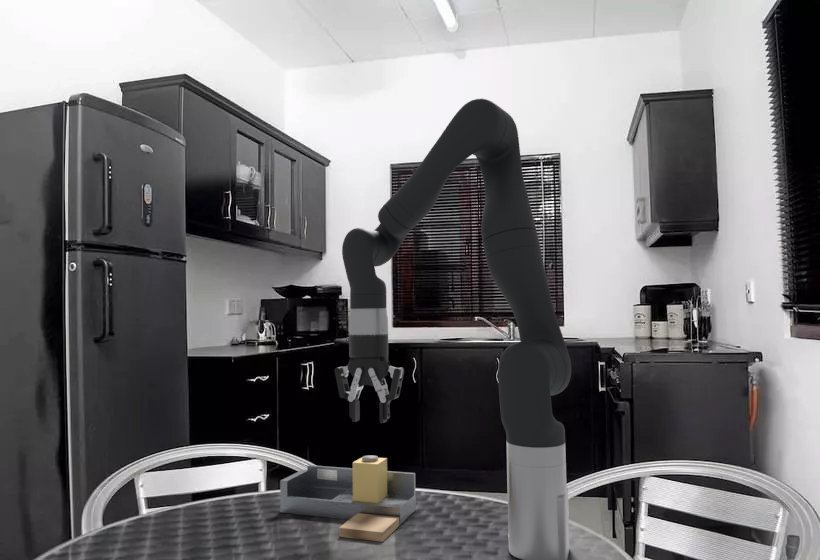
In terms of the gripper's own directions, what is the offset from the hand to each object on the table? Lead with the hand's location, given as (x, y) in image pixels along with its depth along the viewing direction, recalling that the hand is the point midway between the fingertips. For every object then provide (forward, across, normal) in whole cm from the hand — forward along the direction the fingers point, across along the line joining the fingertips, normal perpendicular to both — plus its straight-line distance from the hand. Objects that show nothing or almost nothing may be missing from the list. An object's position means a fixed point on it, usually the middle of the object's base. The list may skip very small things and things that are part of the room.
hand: (369, 421), depth 116 cm
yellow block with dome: (+14, 0, 0) cm, 14 cm away
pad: (+17, -4, +8) cm, 20 cm away
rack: (+17, +4, 0) cm, 18 cm away
